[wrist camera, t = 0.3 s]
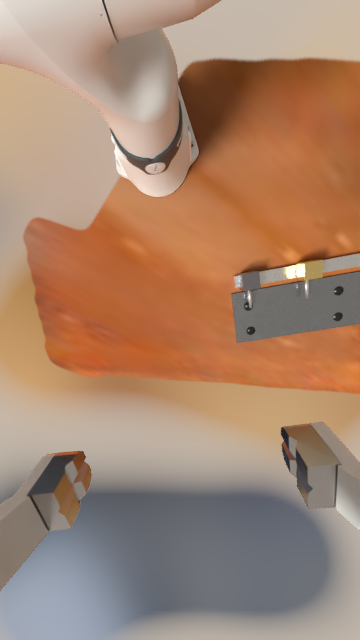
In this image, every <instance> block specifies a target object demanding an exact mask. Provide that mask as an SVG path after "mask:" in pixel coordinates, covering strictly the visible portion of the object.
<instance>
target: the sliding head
mask: <svg viewBox="0 0 360 640" xmlns="http://www.w3.org/2000/svg"><path fill="white" fill-rule="evenodd" d="M296 273H297V280H303V281H305V299H308V298H309V280H312V279H317V278H323V260H311V261H306V262H300V263H296Z"/></svg>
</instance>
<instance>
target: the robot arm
mask: <svg viewBox="0 0 360 640" xmlns="http://www.w3.org/2000/svg"><path fill="white" fill-rule="evenodd" d="M219 1H221V0H0V63H1V64H6V65H10V66H13V67H17V68H21V69H25V70H28V71H31V72H33V73H36V74H39V75H41V76H43V77H46V78H48V79H50V80H52V81H54V82H56V83H58V84H60V85H62V86H64V87H65V88H67V89H69V90H70V91H72V92H74V93H75V94H77V95H79V96H80V97H82V98H84V99H85V100H86V101H88V102H89V103H90V104H92V105H93V106H94V107H95V108H96V109H98V111H99V112H101V114H102V116H103V117H104V119H105V120H106V121H107V123H108V125H109V126H110V130H111V133H112V135H111V139H112V142H113V143H114V144H115V151H114V152H115V155H116V167H117V171H118V173H119V174H120V175H121V176H122V177H124V178H126V179H128V180H130V181H131V182H132V183H133V184H134V185H135V186H136V187H137V188H138V189H139V190H140V191H142V192H143V193H145V194H147V195H149V196H154V197H162V196H166V195H169V194H171V193H173V192H174V191H175V190H177V189H178V188H179V187H180V185H181V184H182V183H183V181H184V179H185V177H186V175H187V172H188V170H189V167H190V166H191V165H192V163H193V162H194V161H195V160H196V159H197V157H198V155H199V150H198V146H197V143H196V139H195V136H194V133H193V130H192V127H191V123H190V120H189V117H188V114H187V111H186V107H185V104H184V101H183V98H182V95H181V91H180V88H179V85H178V77H177V65H176V61H175V56H174V53H173V50H172V48H171V45H170V43H169V41H168V39H167V37H166V35H165V34H164V32H163V30H162V28H164V27H167V26H170V25H174V24H177V23H180V22H184V21H187V20H190V19H193V18H194V17H196V16H198V15H199V14H201V13H202V12H204V11H205V10H207V9H209V8H210V7H212V6H213V5H215V4H216V3H218V2H219ZM191 145H193V147H192V148H191ZM281 436H282V438H283V440H284V441H283V443H282V452H283V456H284V460H285V462H286V465H287V467H288V469H289V472H290V473H291V474H292V475H294V476H295V477H296V478H297V488H298V490H299V492H300V493H301V495H302V498H303V500H304V502H305V504H306V505H307V507H308V509H311V508H331V507H336V510H337V511H338V512H340V513H341V514H342V515H343V516H344V517H345V518H346V519H347V520H349V521H350V522H351V523H352V524H353V525H354V526H355V527H356V528H357V529H358V530H359V531H360V462H359V461H358V460H357V459H356V458H355V456H354V455H353V454H352V453H351V452H350V451H349V450H348V449H347V447H346V446H345V445H344V444H343V443H342V442H341V441H340V440H339V438H338V437H337V436H336V435H335V434H334V433H333V432H332V430H331V429H330V428H329V427H328V426H327V425H326V424H325V423H323V422H318V423H309V424H301V425H293V426H285V427H281ZM85 458H86V456H85V454H84V452H83V451H74V452H62V453H53V454H47V455H46V456H44V457H43V458H42V459H41V460H40V461H39V463H38V464H37V465H36V467H35V468H34V470H33V471H32V472H31V473H30V475H29V476H28V477H27V479H26V480H25V481H24V483H23V484H22V485H21V487H20V488H19V489H18V491H17V492H16V493H15V495H14V496H13V497H12V498H8V499H7V500H6V501H4V502H3V503H2V504H0V591H1V589H2V588H3V587H4V586H5V585H6V583H7V582H8V581H9V580H10V579H11V577H12V576H13V575H14V574H15V573H16V571H17V570H18V569H19V568H20V567H21V566H22V564H23V563H24V562H25V561H26V560H27V558H28V557H29V556H30V555H31V554H32V552H33V551H34V550H35V549H36V548H37V546H38V545H39V544H40V543H41V542H42V540H43V539H44V538H45V537H46V536H47V535H48V533H49V532H48V531H56V530H64V529H71V527H72V525H73V523H74V520H75V518H76V516H77V514H78V511H79V509H80V499H81V498H82V497H83V496H84V495H85V494H86V493H87V491H88V488H89V486H90V481H91V468H90V466H89V465H88V464H87V463H86V462H84V461H85Z"/></svg>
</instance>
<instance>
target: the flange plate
mask: <svg viewBox="0 0 360 640" xmlns="http://www.w3.org/2000/svg"><path fill="white" fill-rule="evenodd" d="M231 296H232V304H233V313H234V322H235V330H236V339H237V343H240V342H247V341H253V340H259V339H266V338H272V337H278V336H285V335H291V334H298V333H304V332H310V331H317V330H323V329H330V328H336V327H342V326H349V325H355V324H360V271H358V272H352V273H346V274H341V275H335V276H329V277H324V278H318V279H313V280H309V298H308V299H305V281H301V282H296V283H290V284H284V285H279V286H273V287H267V288H262V289H256V290H251V298H252V308H249V302H248V291H245V292H239V293H233V294H231Z"/></svg>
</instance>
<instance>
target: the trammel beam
mask: <svg viewBox="0 0 360 640" xmlns="http://www.w3.org/2000/svg"><path fill="white" fill-rule="evenodd" d="M358 266H360V253H356V254H351V255H346V256H340V257H335V258H329V259H324V260H323V273H324V272H330V271H335V270H341V269H346V268H352V267H358ZM296 277H297V273H296V265H291V266H286V267H280V268H275V269H270V270H264V271H251V272H245V273H240V274H238V275H237V276H233V279H234V288H240V290H242V291H248V302H249V308H252V298H251V290H254V289H260V288H261V286H260V284H263V283H268V282H274V281H279V280H285V279H291V278H296Z"/></svg>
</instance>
